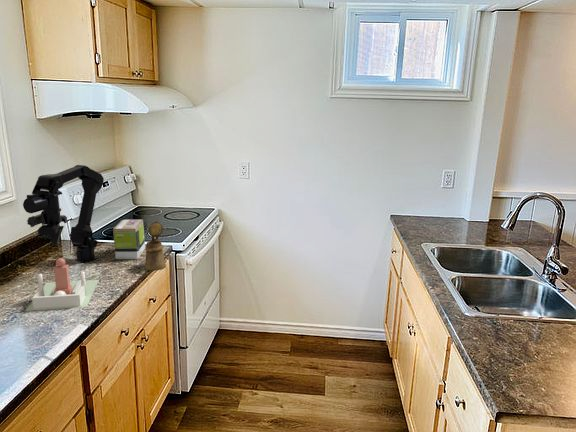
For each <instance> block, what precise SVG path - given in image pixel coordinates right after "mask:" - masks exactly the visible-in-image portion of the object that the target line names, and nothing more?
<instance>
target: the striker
mask: <svg viewBox="0 0 576 432" xmlns="http://www.w3.org/2000/svg"><path fill="white" fill-rule="evenodd" d="M55 264H56V265H55V266H54V267H53V274H54V282H55V283H56V288H55V290H54V294H55V293H56V292H57V291H64V292H65V293H66V295H71V294H72V292H73V290H72V285H70V281H71V277H70V269H69V264H66V260H65V258H62V257H60V258H57V259H56V261H55Z"/></svg>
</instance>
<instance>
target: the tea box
mask: <svg viewBox="0 0 576 432" xmlns="http://www.w3.org/2000/svg"><path fill="white" fill-rule="evenodd" d="M112 231H113V233H112V234H113V242H114V243H113V244H114V254H115V255H114V257H115V259H116V260H138V259H139V258H140V256H141V255H142V253H143V252H144V250H146V240H145V228H144V219H122V220H121V221H120V222H118V223H117V224H116V225H115V226H114V227H113V229H112Z"/></svg>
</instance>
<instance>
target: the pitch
mask: <svg viewBox="0 0 576 432" xmlns="http://www.w3.org/2000/svg"><path fill="white" fill-rule="evenodd" d="M99 280H100V279H89V280H88V279H87V280H86V279H85V284H86V294H87V295H86V296H85V298H84V300H83V302H82V304H81V306H70V307H56V308H42V309H34V308H33V300H32V301H31V302H30V304H29V306H28V307H27V308H26V309H25V311H26V312H31V311H43V310H44V311H46V310H47V311H48V310H60V309H61V310H62V309H73V308H87V307H88V305H89V302H90V301H91V299H92V296H93V294H94V293H95V290H96V288H97V286H98V283H99ZM70 285H72V290H73V292H72V294H78V292H79V290H80V289H81V279H79V280H73V281H71V280H70ZM43 287H44V295H45V296H54V290H55V288H56V283H55V281H53V282H45V284H43Z"/></svg>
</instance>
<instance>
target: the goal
mask: <svg viewBox="0 0 576 432" xmlns="http://www.w3.org/2000/svg"><path fill="white" fill-rule="evenodd" d="M85 273H86V272H85V271H80V274H79V275H80V280H81V289H80V290H79V292H78V294H71V295H55V296H45V295H44V287H43V286H44V280H43V278H44V277H43V274H42V273H37V283H38V290H37V291H36V293H35V294H34V295H33V297H32V298H31V299H32V301H33V308H34V309H42V308H56V307H70V306H81V304H82V302H83V300H84V298H85V296H86V295H87V294H86V284H85V280H86V276H85Z"/></svg>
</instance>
